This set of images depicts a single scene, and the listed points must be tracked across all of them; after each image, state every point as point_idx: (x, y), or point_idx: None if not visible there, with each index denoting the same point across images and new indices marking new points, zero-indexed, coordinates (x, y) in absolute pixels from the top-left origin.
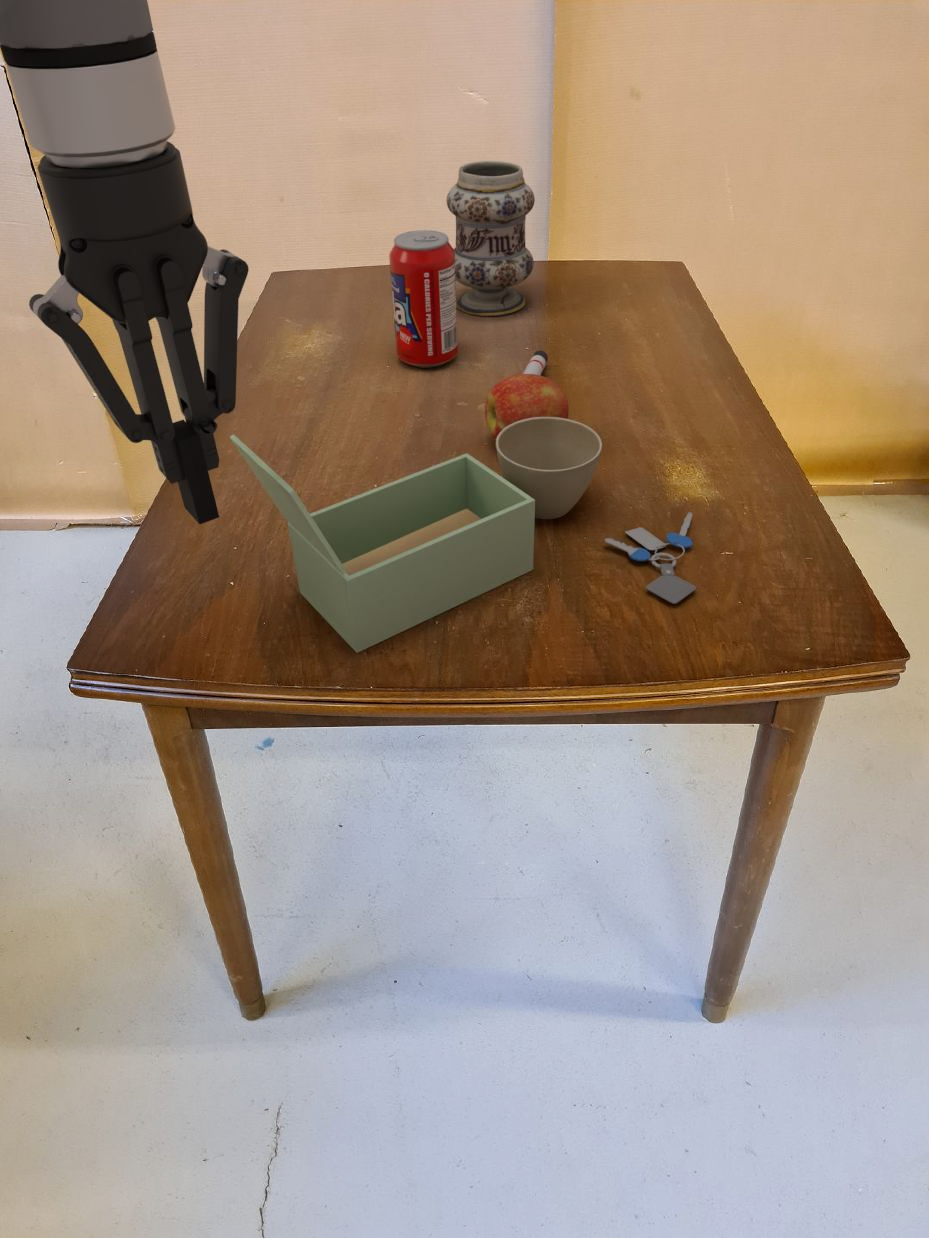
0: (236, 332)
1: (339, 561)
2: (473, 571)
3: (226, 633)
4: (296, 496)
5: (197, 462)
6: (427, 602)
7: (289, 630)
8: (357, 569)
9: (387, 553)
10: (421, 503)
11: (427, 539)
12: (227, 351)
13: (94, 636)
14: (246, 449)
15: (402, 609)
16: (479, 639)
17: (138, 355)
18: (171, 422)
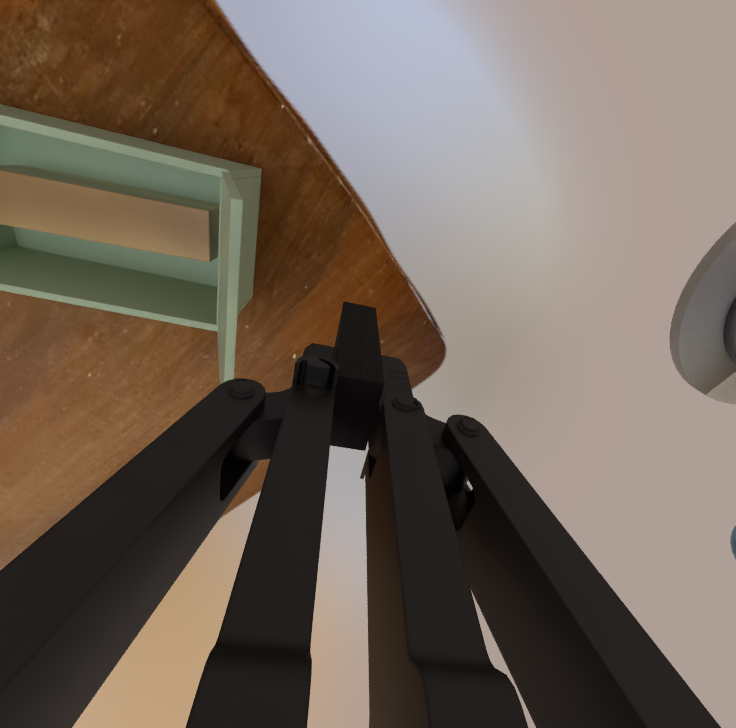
0: (34, 547)
1: (223, 173)
2: (57, 121)
3: (340, 303)
4: (233, 196)
5: (354, 350)
6: (147, 142)
7: (294, 258)
8: (191, 237)
9: (142, 232)
10: (49, 273)
11: (80, 213)
12: (135, 496)
13: (419, 383)
14: (228, 378)
15: (182, 151)
16: (125, 53)
17: (461, 612)
18: (386, 416)
